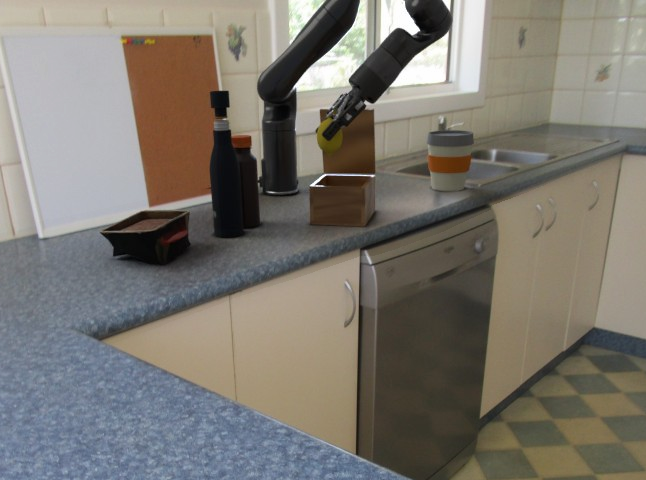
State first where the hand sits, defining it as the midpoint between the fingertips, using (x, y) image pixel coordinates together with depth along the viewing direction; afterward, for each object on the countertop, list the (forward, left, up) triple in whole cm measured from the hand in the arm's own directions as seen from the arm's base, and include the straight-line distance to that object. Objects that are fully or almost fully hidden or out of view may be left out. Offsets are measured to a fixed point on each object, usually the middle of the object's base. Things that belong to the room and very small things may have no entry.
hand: (321, 136), depth 142 cm
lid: (+3, +14, -3) cm, 15 cm away
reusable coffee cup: (+25, +47, -20) cm, 57 cm away
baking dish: (-29, -26, -20) cm, 44 cm away
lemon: (+2, +1, -4) cm, 5 cm away
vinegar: (-18, -1, -20) cm, 27 cm away
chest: (+3, +9, -20) cm, 22 cm away
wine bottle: (-19, -9, -20) cm, 29 cm away
